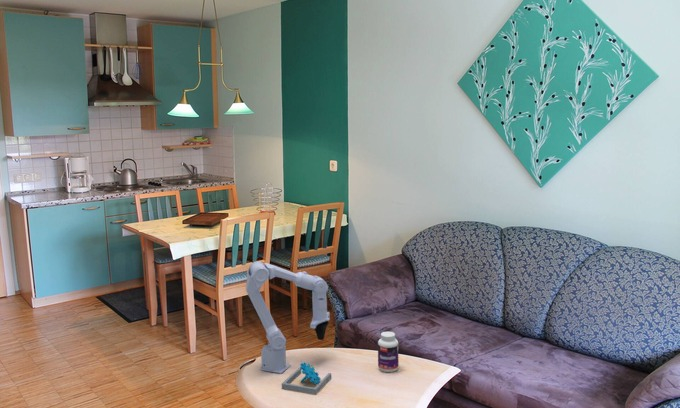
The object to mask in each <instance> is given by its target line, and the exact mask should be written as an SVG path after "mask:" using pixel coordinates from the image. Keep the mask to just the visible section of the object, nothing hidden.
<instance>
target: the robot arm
mask: <svg viewBox="0 0 680 408" xmlns="http://www.w3.org/2000/svg"><path fill="white" fill-rule="evenodd" d="M246 276H247V277H246V283H245V291H246V293H247V295H248V297H249V299H250V301H251V303H252V305H253V307H254V309H255V311H256V313H257V315H258V317H259V319H260V322H261V324H262V326H263V328H264V330H265V334H266V335H265V337H266V339H267V341H268V343H267V344H266V345H263V347H262V348H261V353H260V355H261V356H260V359H261V360H260V361H261V368H260V370H261V371H265V372H272V373H277V374H283V373H284V372H285V371H286V370H287V369H289V367H291V364H290V363H287V352H286V351H287V349H286V345H287V338H286V337H285V336H284V334H283V333H282V330H281V329H280V328H279V327H277V324H276V323H275V320H274V318H273V316H272V314H271V312H270V309H269V308H268V306H267V304H266V302H265V300H264V298H263V295H262V294H261V291H260V290H261V288H262V286H264V284H265V283H266V282H267V281H268V280H272V279H274V278H281V279H284V280H288V281H291V282H293V283H294V285H295V287H298V288H302V289H305V290H309V291H312V292H311V294H312V296H311V299H312V318H311V322H310V324H309V326H310V329H313V330H314V331H315V334H316V337H317V340H320V341H323V340H324V339H325V335H326V332H327V331H326V330H327V327H328V325H329V321H330V320H331V319H330V313H331V312H330V311H328V306H327V305H328V301H327V292H328V291H329V286H328V284H327V282H326V281H325V279H323V278H322V277H321V276H319V275H311V274H308V273H307V271H304V270H303V271H298V272H296V273H295V272H292V271H291V270H287V269H285V268H282V267H279V266H277V265H275V264H270V263H268V262H264V263H263V262H262V261H259V260H256V261H254V262H252V263H251V264H250V265H249V267H248V269H247V273H246Z"/></svg>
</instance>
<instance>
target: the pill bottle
mask: <svg viewBox="0 0 680 408" xmlns="http://www.w3.org/2000/svg"><path fill="white" fill-rule="evenodd" d="M399 365H400V364H399V340H398V339H397V338H396V333H395V332H393V331H383V332H381V334H380V338H379V340H378V341H377V367H378V369H379V370H380V371H381V372H384V373H393V372H396V371H397V370H398V369H399Z"/></svg>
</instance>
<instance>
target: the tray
mask: <svg viewBox="0 0 680 408" xmlns="http://www.w3.org/2000/svg"><path fill="white" fill-rule="evenodd" d="M301 374H302V369H300V367H299V368H297V369H295V371H294V372H293V373H292V374H291V375H289V376H288V377H287V378H285V380H284V381H283V382H281V389H282V390H287V391H293V392H298V393H305V394H309V395H310V394H311V395H315V396H316V395H317V394H318V393H319V392H320V391H321V390H322V389H323V388H324V387H325V386H326V385H327V384H328V383H329V381H331V379H332V373H330V372H328V373H327V374H326V375H325V376H324V378H322V380H321V381H320V383H319V384H317V385H316V386H315V387H311V386H307V385H306V386H305V385H299V384H294V383H292V382H294V381H295V379H297V378H298V377H299V376H300V375H301Z"/></svg>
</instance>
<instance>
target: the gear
mask: <svg viewBox="0 0 680 408" xmlns="http://www.w3.org/2000/svg"><path fill="white" fill-rule="evenodd" d="M299 365H300V367H299V368H300V369H301V374H303V375H304V377H302V379H301V380H300V383H301V384H302V383H304V382H305V381H306V380H308V379H310V380H309V381H310V383H311V384H313V383H314V385H316V386H317V385H318V384H319V383H320V382H321V381H320V380H321V377H320V376H319V373H318V372H316V369H315V367H314V365H310V363H307V362H305V361H303V362H301V363H300V364H299Z"/></svg>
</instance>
